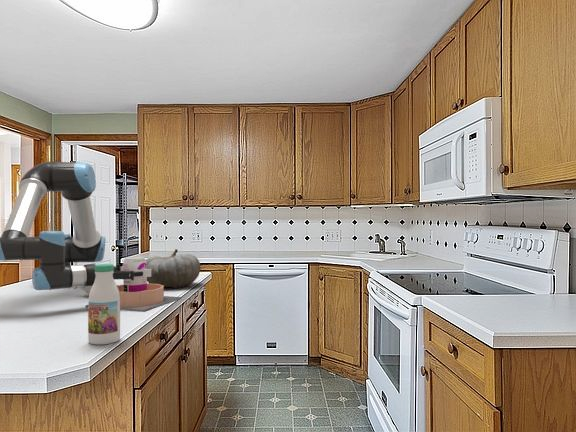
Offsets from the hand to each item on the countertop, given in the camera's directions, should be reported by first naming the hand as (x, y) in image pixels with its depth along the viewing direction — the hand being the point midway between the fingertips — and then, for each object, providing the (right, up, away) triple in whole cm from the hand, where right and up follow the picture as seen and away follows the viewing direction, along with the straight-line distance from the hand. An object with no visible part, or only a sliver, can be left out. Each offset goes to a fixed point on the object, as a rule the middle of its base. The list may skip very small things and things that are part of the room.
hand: (144, 270), depth 170 cm
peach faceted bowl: (-3, -12, -2) cm, 12 cm away
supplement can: (-3, -10, -2) cm, 11 cm away
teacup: (-24, -12, +12) cm, 29 cm away
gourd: (+1, -12, +35) cm, 36 cm away
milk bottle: (+6, -12, -52) cm, 54 cm away
